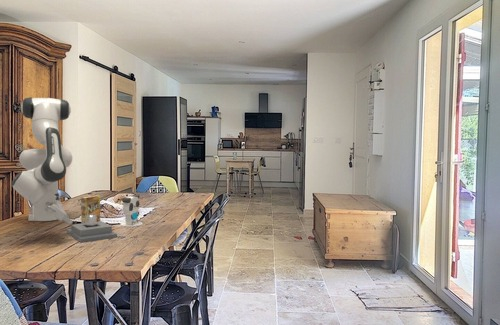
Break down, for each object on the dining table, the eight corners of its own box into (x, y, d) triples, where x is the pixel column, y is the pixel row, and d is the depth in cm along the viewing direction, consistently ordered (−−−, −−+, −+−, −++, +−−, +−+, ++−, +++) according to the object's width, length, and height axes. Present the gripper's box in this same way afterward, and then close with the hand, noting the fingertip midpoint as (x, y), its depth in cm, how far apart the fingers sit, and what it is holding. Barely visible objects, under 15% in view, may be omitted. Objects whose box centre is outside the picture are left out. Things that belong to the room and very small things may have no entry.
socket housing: (66, 232, 187) (66, 223, 187) (100, 228, 197) (100, 219, 197) (80, 242, 170) (80, 232, 170) (117, 237, 180) (117, 227, 180)
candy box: (86, 227, 198) (86, 197, 197) (80, 226, 200) (80, 197, 199) (100, 224, 206) (100, 195, 205) (95, 223, 208) (95, 195, 207)
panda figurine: (135, 227, 201) (135, 198, 200) (115, 226, 203) (115, 197, 202) (146, 222, 212) (146, 195, 211) (127, 221, 215) (127, 194, 214)
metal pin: (85, 231, 184) (85, 214, 184) (94, 230, 187) (94, 213, 186) (88, 233, 181) (88, 216, 180) (97, 232, 184) (97, 215, 183)
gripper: (53, 199, 165) (78, 220, 171) (50, 193, 183) (73, 212, 189) (41, 210, 164) (67, 231, 169) (39, 203, 181) (63, 222, 187)
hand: (70, 221), depth 179 cm, fingers open, 8 cm apart
